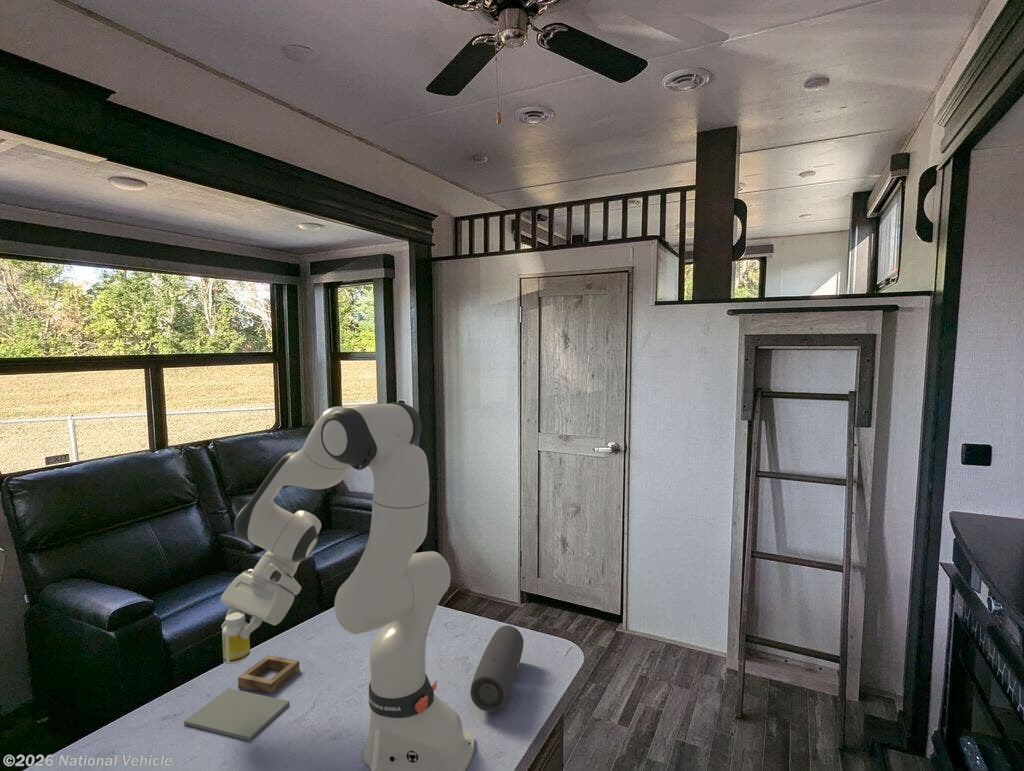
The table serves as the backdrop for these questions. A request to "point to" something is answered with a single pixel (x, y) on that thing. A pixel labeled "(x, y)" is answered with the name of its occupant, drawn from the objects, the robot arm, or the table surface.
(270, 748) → the table surface
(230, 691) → the slate mat
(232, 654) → the supplement bottle
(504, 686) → the bluetooth speaker
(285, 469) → the robot arm
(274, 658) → the walnut collar
